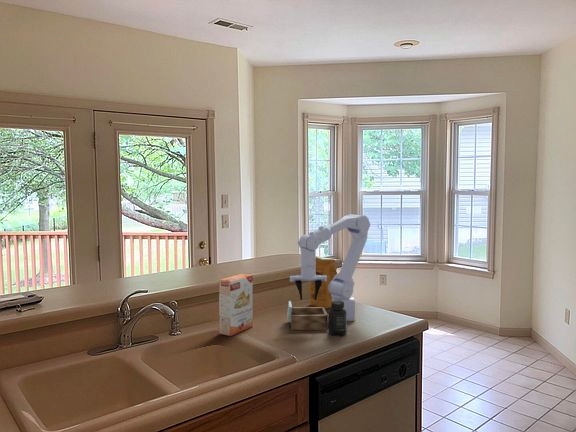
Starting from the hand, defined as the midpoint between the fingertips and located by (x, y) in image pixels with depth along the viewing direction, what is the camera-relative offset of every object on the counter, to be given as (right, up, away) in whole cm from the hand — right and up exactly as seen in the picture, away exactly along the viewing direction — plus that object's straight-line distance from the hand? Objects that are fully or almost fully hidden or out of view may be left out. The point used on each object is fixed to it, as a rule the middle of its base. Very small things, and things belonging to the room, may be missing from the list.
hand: (308, 299), depth 190 cm
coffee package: (+8, -8, +30) cm, 32 cm away
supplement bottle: (+10, -11, -10) cm, 18 cm away
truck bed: (0, -10, +1) cm, 10 cm away
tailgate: (-8, -8, 0) cm, 11 cm away
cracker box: (-28, -11, -6) cm, 31 cm away
